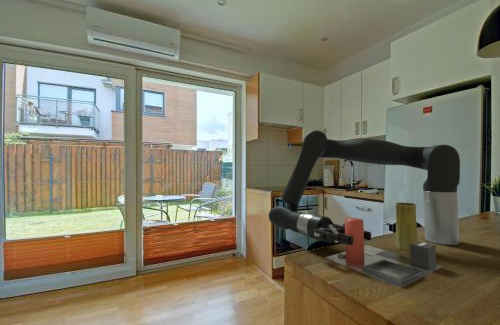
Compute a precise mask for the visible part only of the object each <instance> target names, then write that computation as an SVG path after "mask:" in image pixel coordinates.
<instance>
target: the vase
mask: <svg viewBox="0 0 500 325" xmlns="http://www.w3.org/2000/svg"><path fill="white" fill-rule="evenodd" d="M416 206H417V204H416V203H414V202H413V203H412V202H396V203H395V248H397V249H399V250H403V251H408V252H410V244H412V243H415V242H419V240H418V229H417V228H418V225H417V207H416Z"/></svg>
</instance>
